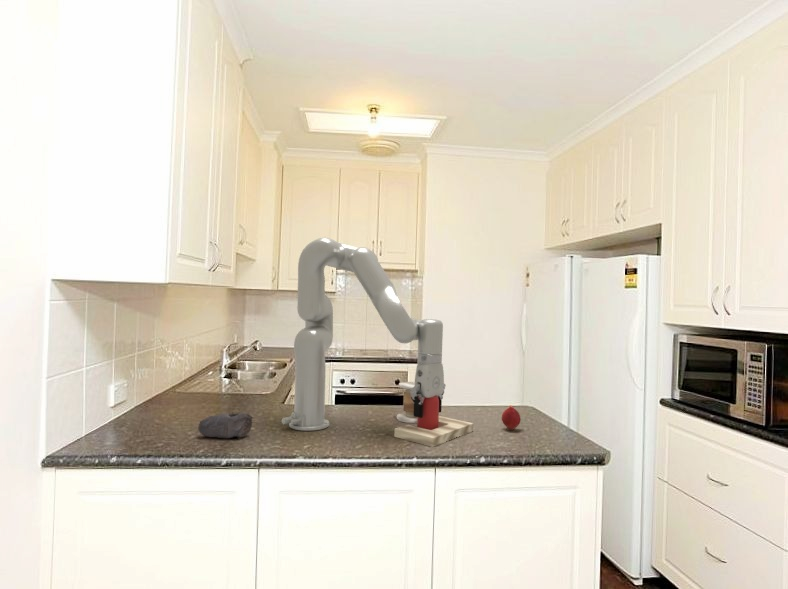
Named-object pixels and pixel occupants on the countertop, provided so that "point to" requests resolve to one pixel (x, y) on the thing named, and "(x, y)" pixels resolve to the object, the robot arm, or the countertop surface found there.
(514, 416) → the onion
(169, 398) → the countertop surface
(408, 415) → the bobbin
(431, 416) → the beer can
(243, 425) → the perforated stone tool
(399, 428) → the notched board
